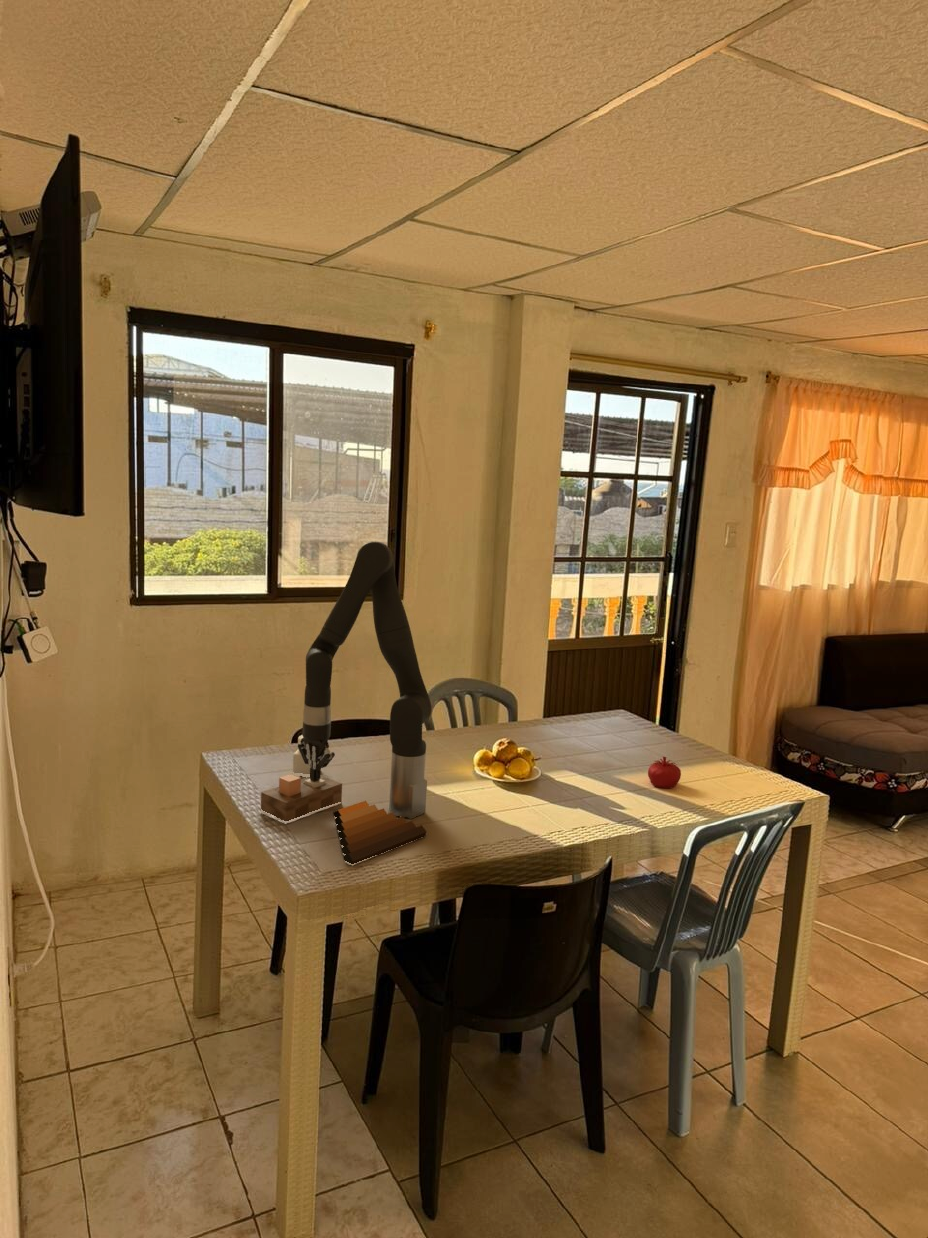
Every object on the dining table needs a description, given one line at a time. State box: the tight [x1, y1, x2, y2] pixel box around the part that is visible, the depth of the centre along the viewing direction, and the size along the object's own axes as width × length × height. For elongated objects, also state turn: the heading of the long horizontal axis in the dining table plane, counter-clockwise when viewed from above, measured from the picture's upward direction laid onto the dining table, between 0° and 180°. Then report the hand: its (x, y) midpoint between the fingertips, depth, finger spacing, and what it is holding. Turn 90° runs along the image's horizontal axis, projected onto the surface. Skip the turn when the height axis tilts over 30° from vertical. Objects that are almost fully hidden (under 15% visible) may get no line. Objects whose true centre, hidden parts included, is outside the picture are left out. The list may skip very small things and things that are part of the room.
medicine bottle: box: [292, 734, 310, 774], centre depth 261 cm, size 7×7×12 cm
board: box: [260, 775, 343, 821], centre depth 235 cm, size 10×20×6 cm, turn 142°
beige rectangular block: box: [305, 779, 325, 788], centre depth 238 cm, size 4×4×6 cm
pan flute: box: [333, 800, 427, 864], centre depth 221 cm, size 25×3×25 cm
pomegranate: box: [647, 756, 682, 789], centre depth 270 cm, size 10×10×9 cm
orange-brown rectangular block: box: [278, 773, 302, 797], centre depth 231 cm, size 4×4×6 cm
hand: (314, 780), depth 238 cm, fingers closed
